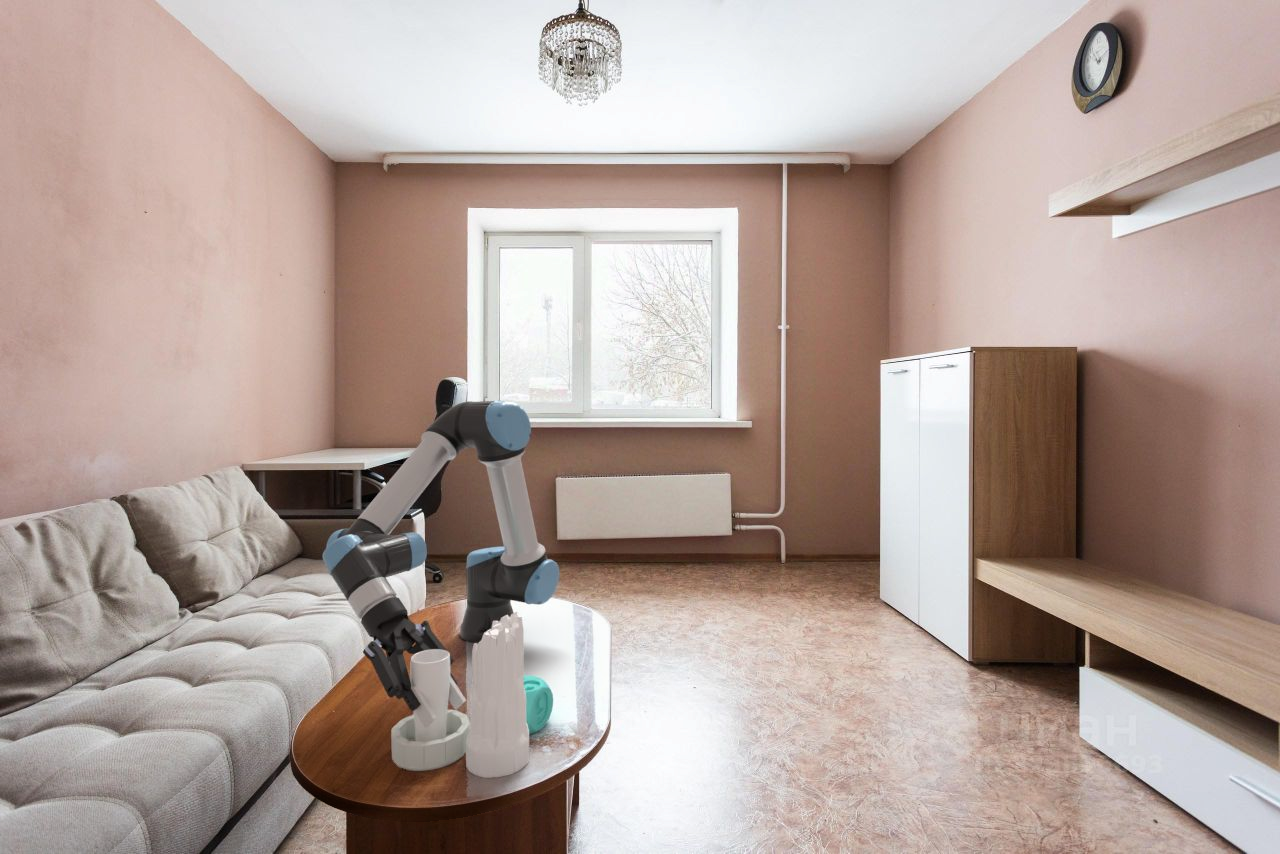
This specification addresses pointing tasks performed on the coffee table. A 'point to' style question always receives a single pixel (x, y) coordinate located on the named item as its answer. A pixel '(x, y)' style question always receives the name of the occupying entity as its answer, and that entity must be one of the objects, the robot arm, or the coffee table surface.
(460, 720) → the dish
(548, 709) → the decorative dice
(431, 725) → the drinking glass
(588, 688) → the coffee table surface
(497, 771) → the decorative vase
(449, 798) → the coffee table surface
